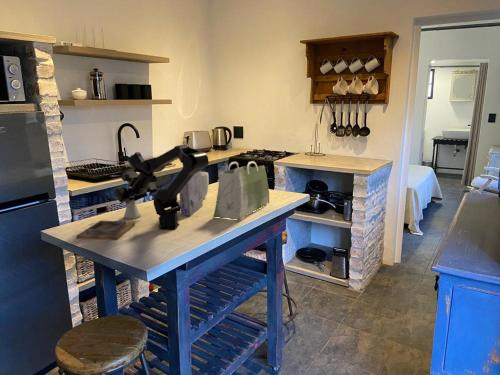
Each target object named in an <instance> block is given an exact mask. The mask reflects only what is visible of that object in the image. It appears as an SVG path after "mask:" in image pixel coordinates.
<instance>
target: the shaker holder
mask: <svg viewBox="0 0 500 375" xmlns="http://www.w3.org/2000/svg"><path fill="white" fill-rule="evenodd" d="M135 226H136V222H127V221H125V220H123V221H122V220H121V221H119V220H100V221H98V222H97V221H96V223H94V224H93V225H91V226H89V227H88V228H87V229H85V230H83V231H81V232H79V233H78V234H76V239H86V238H87V239H92V240H118V239H120V238H122V236H124V235H125V234H126V233H127V232H128V231H131V229H133V228H134V227H135Z"/></svg>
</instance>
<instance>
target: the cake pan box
mask: <svg viewBox="0 0 500 375" xmlns="http://www.w3.org/2000/svg"><path fill="white" fill-rule="evenodd" d="M201 172H202V170H201V171H199V172H197V173H196V174H194V175H193V177H192V178H191V179H190V180H189V181H188V183H187V184H186V185H185V186H184V188H183V189H182V190H181V191H180V192H179V194H178V195H179V204H180V206H181V209H180V216H184V217H185V216H186V217H191V216H192V215H193V214H194V213H196V212H197V211H199V209H201V207H203V206H204V204H203V202H204V200H203V199H202V184H201Z"/></svg>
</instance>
